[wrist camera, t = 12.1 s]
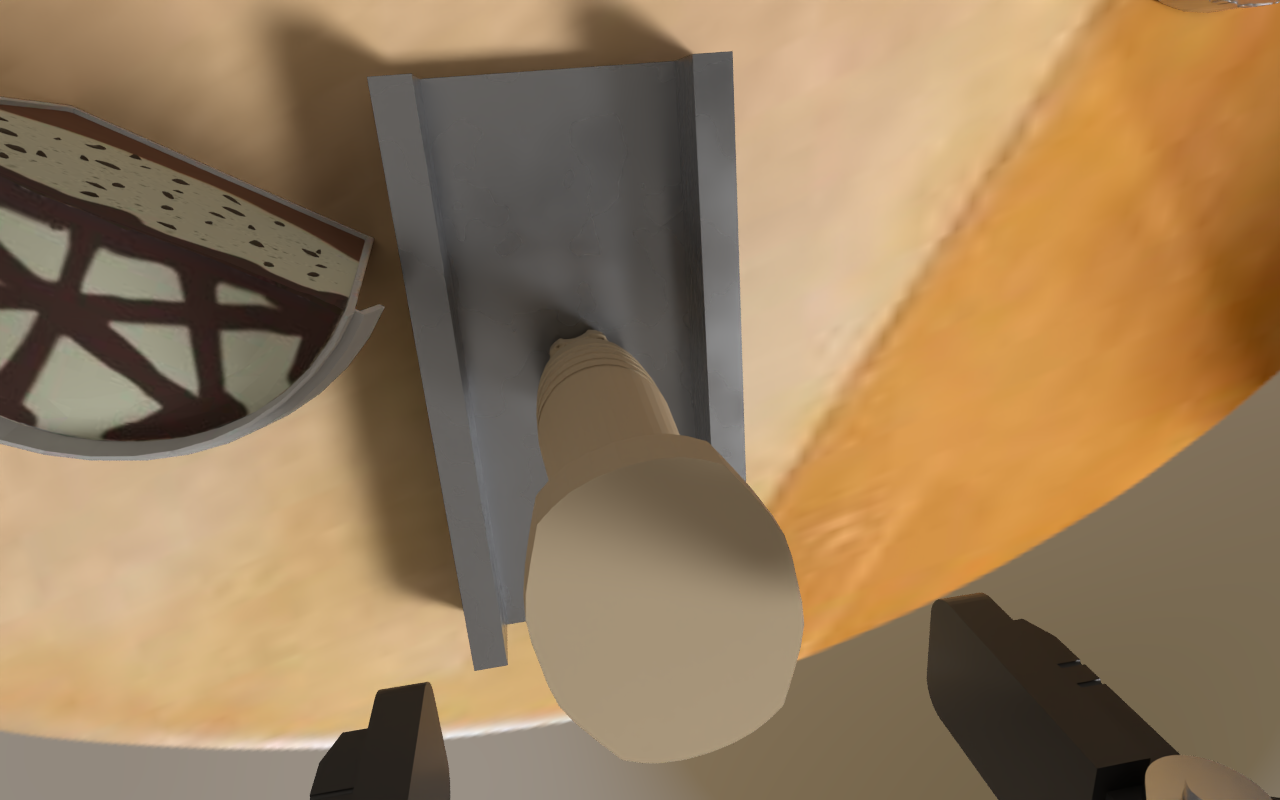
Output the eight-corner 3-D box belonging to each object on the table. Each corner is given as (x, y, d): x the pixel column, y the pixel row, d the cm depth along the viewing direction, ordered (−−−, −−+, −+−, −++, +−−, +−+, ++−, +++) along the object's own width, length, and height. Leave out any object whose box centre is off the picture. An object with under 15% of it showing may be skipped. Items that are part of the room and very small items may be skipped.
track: (384, 83, 25) (367, 76, 21) (703, 60, 26) (732, 51, 23) (477, 614, 31) (474, 670, 28) (725, 574, 33) (750, 623, 30)
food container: (-36, 269, 24) (-367, 356, 15) (14, 80, 23) (-316, 48, 14) (353, 412, 28) (280, 554, 19) (416, 256, 27) (372, 326, 17)
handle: (547, 468, 29) (590, 793, 15) (491, 306, 26) (480, 511, 13) (670, 429, 29) (826, 712, 15) (626, 265, 27) (762, 422, 13)
